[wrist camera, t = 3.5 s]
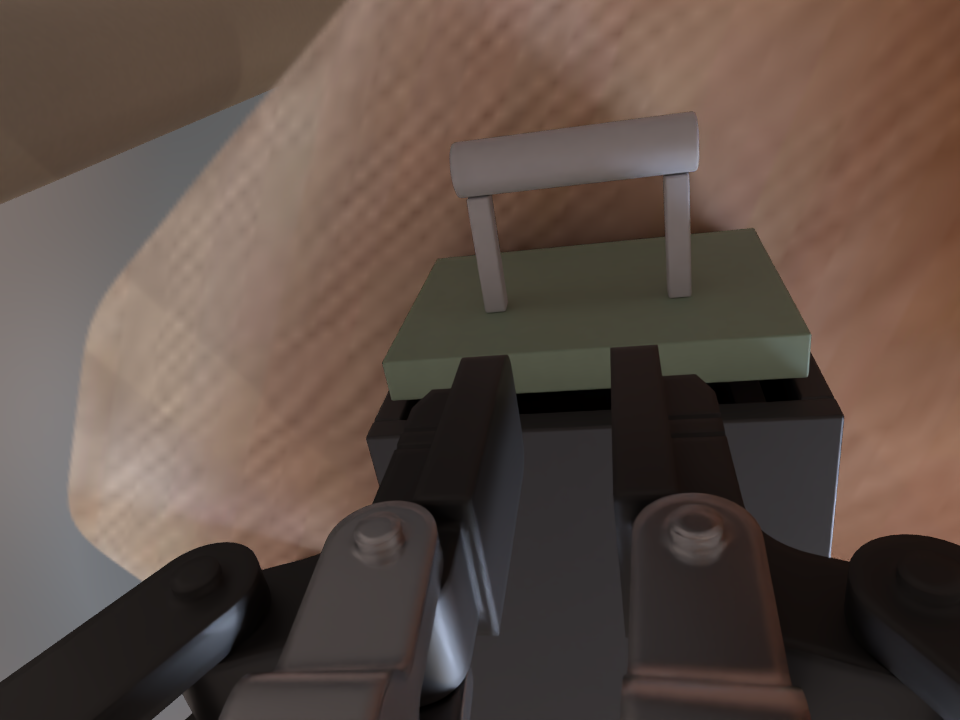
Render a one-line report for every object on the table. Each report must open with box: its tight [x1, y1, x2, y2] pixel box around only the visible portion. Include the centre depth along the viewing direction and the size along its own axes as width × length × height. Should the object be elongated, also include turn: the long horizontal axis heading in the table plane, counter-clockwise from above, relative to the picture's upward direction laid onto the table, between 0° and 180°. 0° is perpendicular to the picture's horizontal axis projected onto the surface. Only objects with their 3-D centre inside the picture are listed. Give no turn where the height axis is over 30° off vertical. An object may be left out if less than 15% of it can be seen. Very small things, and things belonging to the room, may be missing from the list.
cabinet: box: [366, 352, 844, 720], centre depth 25 cm, size 14×12×9 cm
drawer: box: [382, 112, 811, 414], centre depth 22 cm, size 17×10×7 cm, turn 9°
